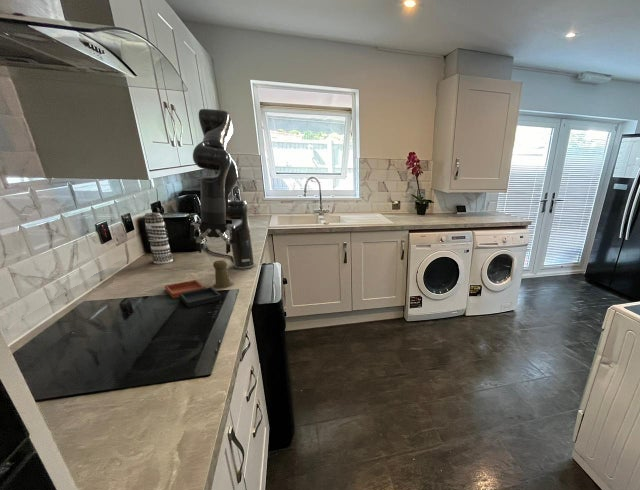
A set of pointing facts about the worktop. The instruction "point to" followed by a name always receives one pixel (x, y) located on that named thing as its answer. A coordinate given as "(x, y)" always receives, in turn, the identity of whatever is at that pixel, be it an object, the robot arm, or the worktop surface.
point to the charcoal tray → (200, 297)
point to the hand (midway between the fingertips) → (213, 252)
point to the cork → (221, 274)
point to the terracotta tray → (183, 288)
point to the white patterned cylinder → (158, 238)
